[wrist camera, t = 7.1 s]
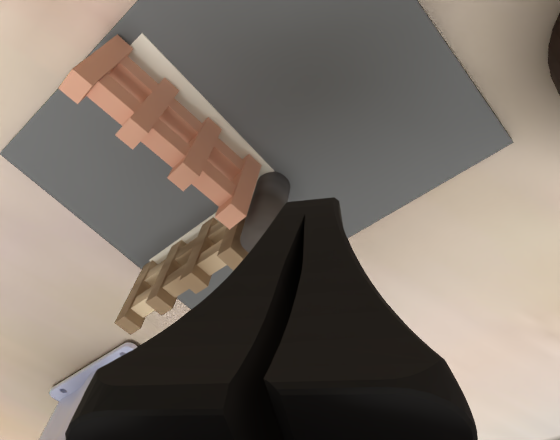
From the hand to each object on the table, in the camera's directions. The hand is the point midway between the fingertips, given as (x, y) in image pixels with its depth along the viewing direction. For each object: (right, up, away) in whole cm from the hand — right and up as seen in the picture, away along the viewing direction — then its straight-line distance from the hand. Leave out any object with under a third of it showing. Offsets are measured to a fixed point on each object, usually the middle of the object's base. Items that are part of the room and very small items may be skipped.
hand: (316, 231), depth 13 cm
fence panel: (-5, +5, +9) cm, 11 cm away
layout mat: (-3, +4, +10) cm, 11 cm away
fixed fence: (-4, 0, +13) cm, 14 cm away
